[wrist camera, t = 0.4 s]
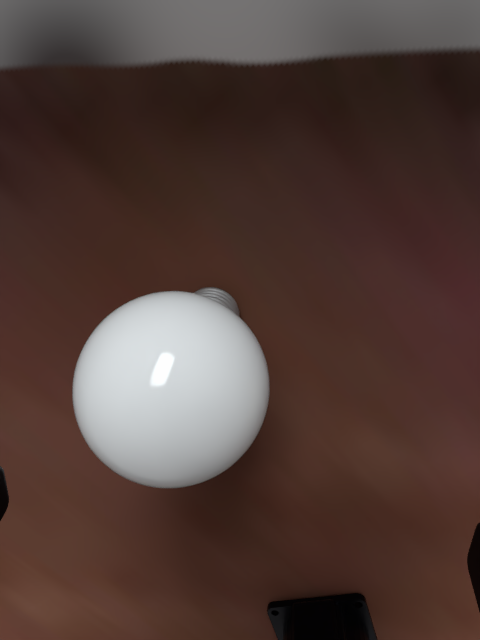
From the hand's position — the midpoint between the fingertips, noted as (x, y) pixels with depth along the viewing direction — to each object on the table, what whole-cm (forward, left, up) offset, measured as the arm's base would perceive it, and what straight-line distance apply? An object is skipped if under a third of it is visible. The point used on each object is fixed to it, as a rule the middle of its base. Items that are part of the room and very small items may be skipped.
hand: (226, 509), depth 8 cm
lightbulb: (0, +3, -14) cm, 14 cm away
